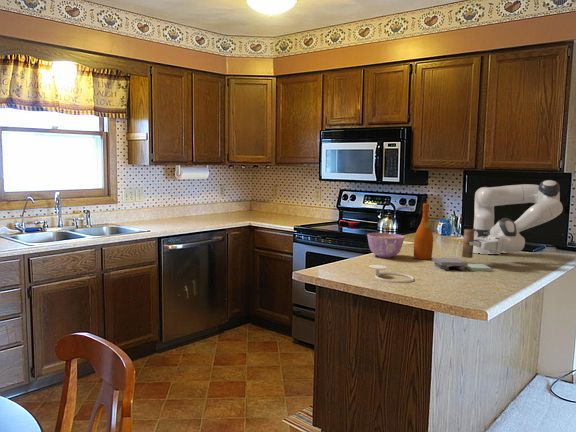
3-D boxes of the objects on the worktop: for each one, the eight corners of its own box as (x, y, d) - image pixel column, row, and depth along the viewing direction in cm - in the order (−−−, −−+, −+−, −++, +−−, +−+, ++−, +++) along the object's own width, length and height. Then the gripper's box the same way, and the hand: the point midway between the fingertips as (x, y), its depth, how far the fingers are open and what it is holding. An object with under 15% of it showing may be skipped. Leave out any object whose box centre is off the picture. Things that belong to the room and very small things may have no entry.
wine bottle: (411, 258, 265) (414, 203, 262) (415, 256, 274) (419, 202, 271) (429, 260, 260) (433, 204, 257) (433, 258, 269) (437, 203, 266)
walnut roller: (467, 255, 258) (469, 229, 256) (474, 257, 253) (476, 230, 252) (460, 256, 256) (462, 229, 255) (466, 257, 251) (469, 230, 250)
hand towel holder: (407, 275, 203) (361, 268, 214) (406, 286, 204) (360, 278, 215) (419, 268, 218) (376, 262, 228) (419, 278, 218) (375, 271, 229)
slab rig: (456, 265, 250) (457, 257, 250) (467, 271, 237) (468, 263, 237) (431, 265, 249) (432, 257, 249) (441, 270, 236) (441, 262, 236)
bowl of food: (393, 261, 255) (394, 239, 253) (359, 256, 267) (360, 234, 265) (409, 256, 271) (410, 235, 269) (376, 251, 283) (377, 231, 281)
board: (482, 266, 249) (482, 264, 249) (491, 271, 239) (491, 268, 239) (462, 266, 249) (463, 263, 249) (471, 270, 239) (471, 267, 239)
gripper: (484, 234, 265) (459, 233, 264) (502, 240, 244) (475, 239, 244) (483, 245, 265) (458, 245, 265) (501, 252, 245) (474, 251, 244)
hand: (466, 242), depth 254 cm, fingers closed on walnut roller, 5 cm apart
